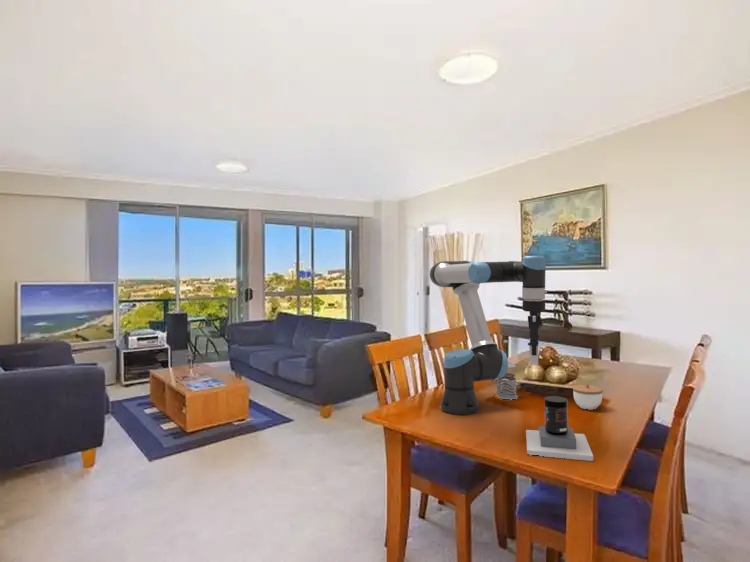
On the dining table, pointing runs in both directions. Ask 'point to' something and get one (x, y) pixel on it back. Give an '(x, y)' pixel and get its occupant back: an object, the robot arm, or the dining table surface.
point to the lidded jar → (587, 396)
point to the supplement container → (556, 415)
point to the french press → (507, 384)
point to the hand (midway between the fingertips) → (533, 360)
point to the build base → (559, 451)
